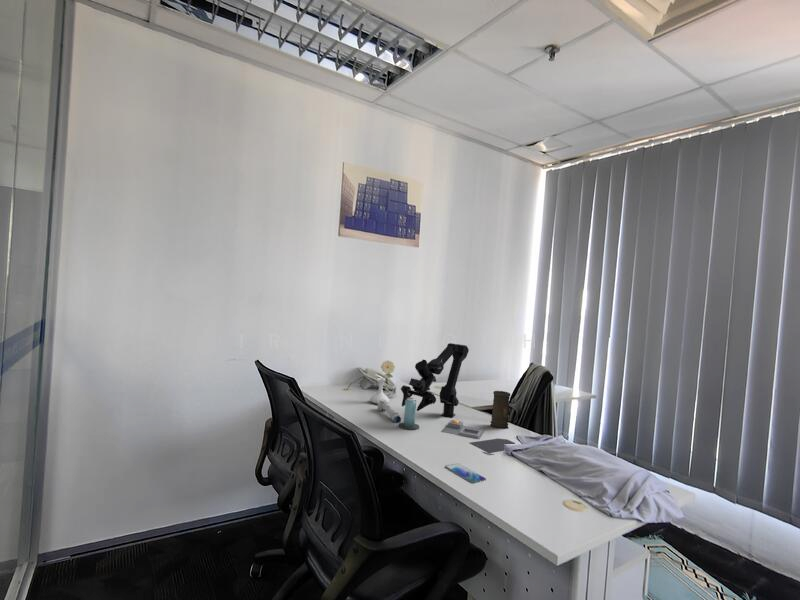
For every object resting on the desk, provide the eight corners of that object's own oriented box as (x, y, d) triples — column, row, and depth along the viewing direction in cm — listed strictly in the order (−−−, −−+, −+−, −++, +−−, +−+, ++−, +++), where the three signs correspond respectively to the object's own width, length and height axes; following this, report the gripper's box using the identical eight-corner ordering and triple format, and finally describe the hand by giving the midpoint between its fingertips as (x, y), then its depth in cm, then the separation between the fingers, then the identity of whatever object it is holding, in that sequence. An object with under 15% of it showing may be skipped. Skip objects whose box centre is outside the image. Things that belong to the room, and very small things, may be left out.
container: (488, 428, 208) (491, 392, 208) (491, 424, 216) (494, 389, 216) (506, 432, 205) (510, 395, 205) (509, 427, 213) (512, 392, 213)
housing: (449, 425, 209) (449, 419, 209) (485, 432, 202) (485, 425, 202) (440, 433, 194) (440, 427, 194) (479, 441, 187) (479, 434, 187)
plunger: (453, 424, 206) (453, 419, 206) (459, 425, 205) (459, 420, 205) (451, 426, 203) (451, 421, 203) (457, 427, 202) (458, 422, 202)
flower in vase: (367, 404, 236) (371, 360, 236) (372, 399, 248) (375, 357, 247) (390, 406, 234) (393, 362, 234) (393, 402, 245) (397, 359, 245)
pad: (402, 422, 207) (402, 421, 207) (422, 426, 203) (422, 424, 203) (395, 427, 198) (395, 426, 198) (415, 431, 194) (415, 430, 194)
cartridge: (412, 423, 204) (414, 397, 204) (415, 427, 199) (417, 399, 199) (402, 423, 202) (404, 397, 202) (405, 427, 197) (407, 399, 197)
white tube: (393, 415, 204) (377, 396, 226) (391, 428, 204) (375, 408, 227) (403, 415, 206) (386, 396, 228) (401, 428, 206) (384, 407, 229)
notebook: (503, 440, 193) (467, 446, 181) (503, 437, 193) (468, 442, 181) (524, 450, 182) (488, 456, 171) (524, 447, 182) (488, 453, 171)
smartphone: (458, 463, 159) (487, 478, 147) (458, 465, 159) (487, 481, 147) (443, 465, 155) (472, 482, 143) (443, 467, 155) (472, 484, 143)
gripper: (404, 369, 210) (388, 393, 202) (434, 375, 198) (418, 402, 190) (412, 383, 216) (397, 407, 208) (442, 390, 204) (427, 416, 196)
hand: (409, 408), depth 200 cm, fingers open, 9 cm apart
